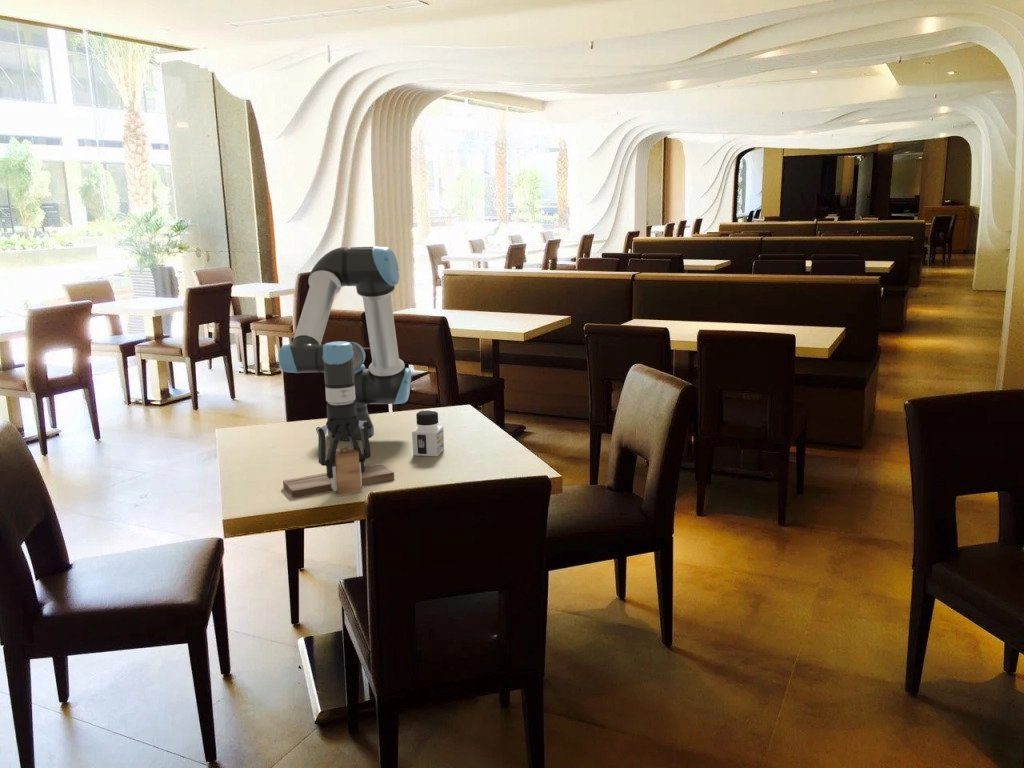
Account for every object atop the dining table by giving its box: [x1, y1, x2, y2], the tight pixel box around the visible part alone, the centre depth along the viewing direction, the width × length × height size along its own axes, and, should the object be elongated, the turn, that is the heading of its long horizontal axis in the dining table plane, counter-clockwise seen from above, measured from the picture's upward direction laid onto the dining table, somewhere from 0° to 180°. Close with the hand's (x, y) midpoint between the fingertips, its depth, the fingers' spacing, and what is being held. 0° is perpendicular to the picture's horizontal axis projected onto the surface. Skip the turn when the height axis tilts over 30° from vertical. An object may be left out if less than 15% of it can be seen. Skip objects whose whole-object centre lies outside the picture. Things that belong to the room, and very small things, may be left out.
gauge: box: [332, 446, 362, 497], centre depth 220 cm, size 14×6×12 cm, turn 29°
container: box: [411, 409, 445, 457], centre depth 249 cm, size 8×8×13 cm
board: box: [282, 462, 395, 499], centre depth 224 cm, size 10×28×2 cm, turn 119°
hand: (346, 486), depth 217 cm, fingers closed on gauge, 6 cm apart
